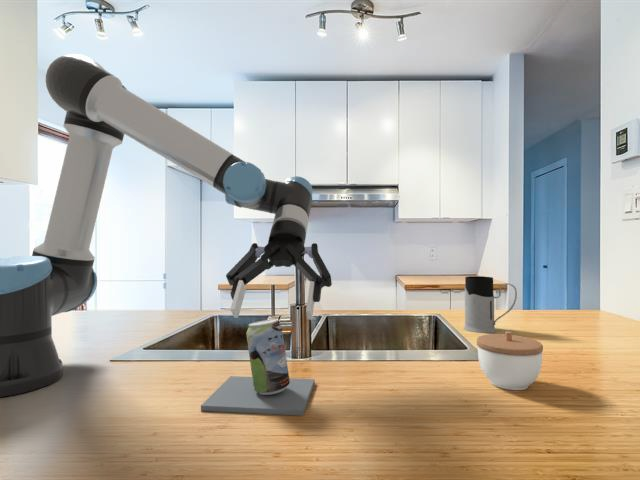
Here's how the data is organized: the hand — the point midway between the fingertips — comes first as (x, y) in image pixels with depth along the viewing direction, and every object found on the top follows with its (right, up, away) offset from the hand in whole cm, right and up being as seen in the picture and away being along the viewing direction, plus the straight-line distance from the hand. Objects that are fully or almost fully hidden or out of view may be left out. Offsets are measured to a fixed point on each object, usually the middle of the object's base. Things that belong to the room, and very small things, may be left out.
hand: (271, 314), depth 69 cm
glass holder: (+57, -13, +42) cm, 72 cm away
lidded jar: (+43, -13, +2) cm, 45 cm away
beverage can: (0, -13, -3) cm, 13 cm away
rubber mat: (-1, -13, -3) cm, 14 cm away
